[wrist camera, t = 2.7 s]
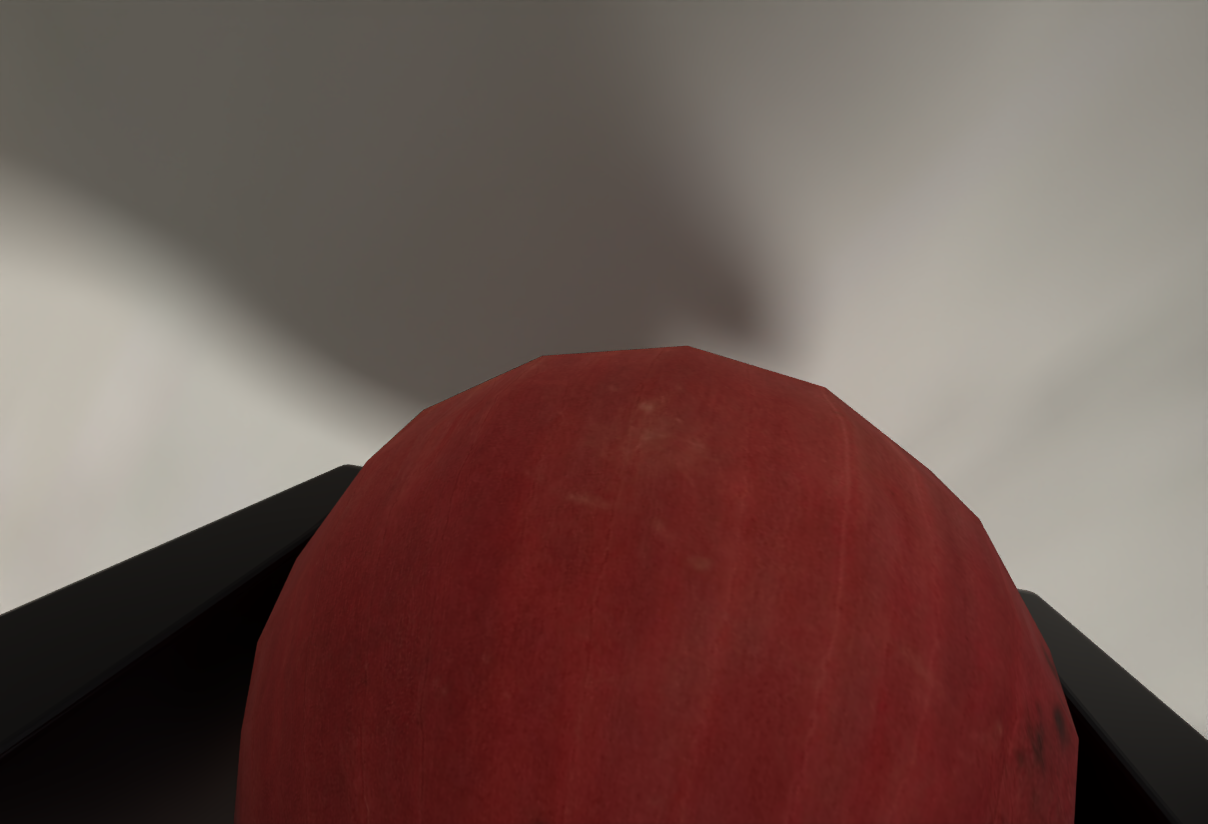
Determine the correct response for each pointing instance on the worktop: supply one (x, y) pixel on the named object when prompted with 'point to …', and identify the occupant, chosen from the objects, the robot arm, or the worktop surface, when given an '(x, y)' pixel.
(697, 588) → the onion
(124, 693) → the robot arm
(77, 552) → the worktop surface
